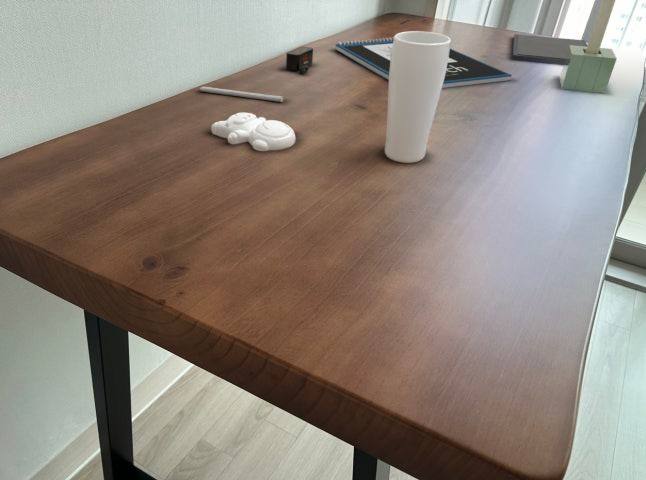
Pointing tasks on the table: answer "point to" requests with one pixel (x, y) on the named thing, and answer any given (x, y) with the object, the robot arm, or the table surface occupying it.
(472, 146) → the table surface
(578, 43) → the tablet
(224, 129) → the white animal figurine
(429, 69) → the drinking glass
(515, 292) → the table surface
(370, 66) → the sketchbook
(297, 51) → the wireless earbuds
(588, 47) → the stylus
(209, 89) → the pencil
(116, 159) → the table surface
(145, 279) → the table surface
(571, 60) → the pen block
